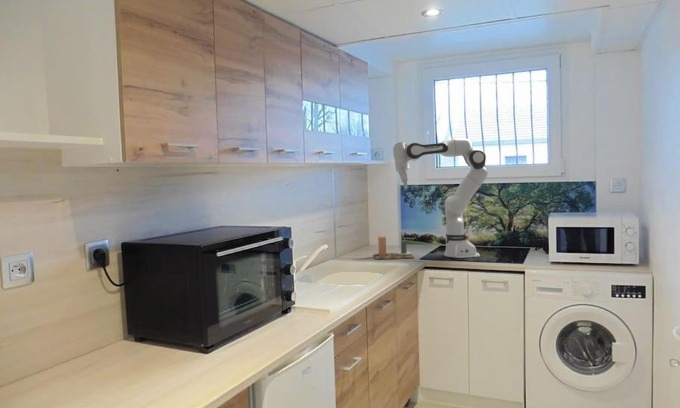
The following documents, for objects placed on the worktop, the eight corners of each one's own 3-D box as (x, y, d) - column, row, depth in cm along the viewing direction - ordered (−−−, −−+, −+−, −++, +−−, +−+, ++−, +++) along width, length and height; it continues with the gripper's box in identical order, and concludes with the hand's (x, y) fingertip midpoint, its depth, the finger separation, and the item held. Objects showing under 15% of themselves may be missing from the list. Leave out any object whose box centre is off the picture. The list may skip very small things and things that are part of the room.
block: (385, 255, 331) (385, 236, 331) (386, 257, 327) (385, 237, 326) (378, 256, 331) (378, 236, 331) (379, 257, 327) (378, 237, 326)
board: (410, 255, 336) (410, 252, 336) (414, 260, 318) (414, 257, 318) (374, 256, 336) (374, 253, 336) (376, 261, 318) (375, 258, 318)
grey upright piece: (409, 252, 333) (408, 239, 332) (410, 255, 325) (410, 241, 324) (397, 253, 333) (396, 240, 332) (398, 255, 325) (398, 241, 324)
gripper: (407, 164, 318) (411, 186, 318) (407, 168, 339) (410, 188, 338) (397, 166, 319) (401, 188, 318) (397, 169, 339) (401, 190, 339)
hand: (406, 188), depth 328 cm, fingers open, 8 cm apart
